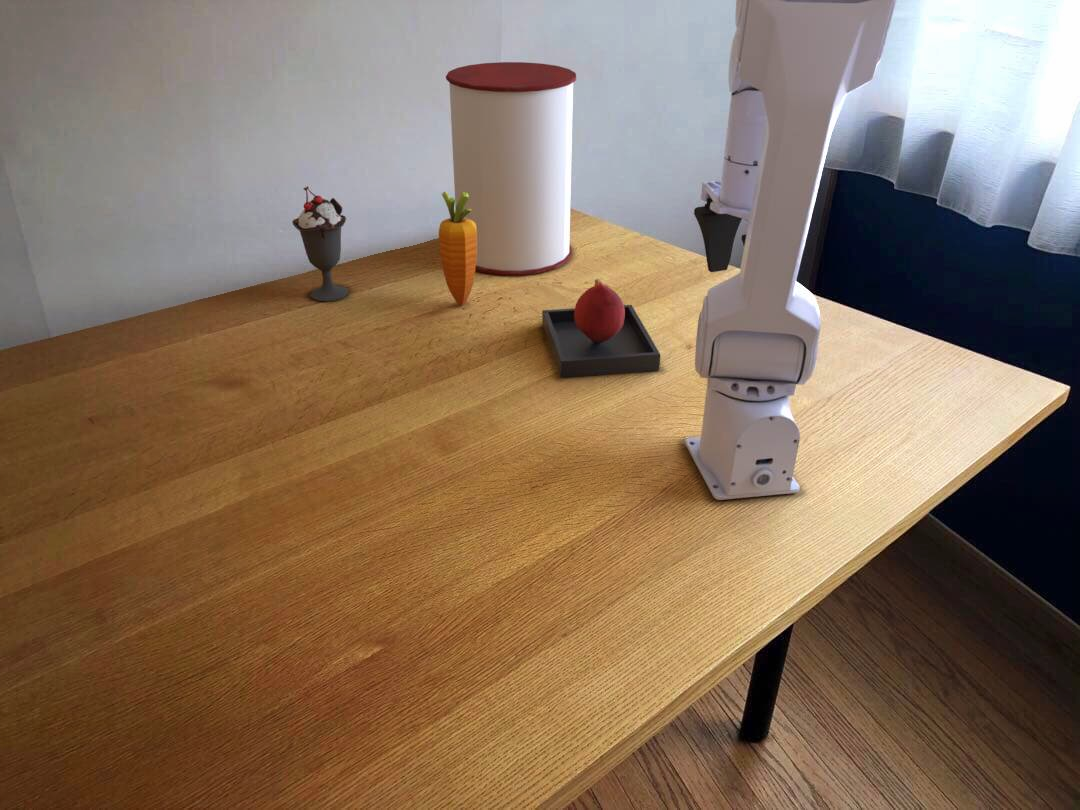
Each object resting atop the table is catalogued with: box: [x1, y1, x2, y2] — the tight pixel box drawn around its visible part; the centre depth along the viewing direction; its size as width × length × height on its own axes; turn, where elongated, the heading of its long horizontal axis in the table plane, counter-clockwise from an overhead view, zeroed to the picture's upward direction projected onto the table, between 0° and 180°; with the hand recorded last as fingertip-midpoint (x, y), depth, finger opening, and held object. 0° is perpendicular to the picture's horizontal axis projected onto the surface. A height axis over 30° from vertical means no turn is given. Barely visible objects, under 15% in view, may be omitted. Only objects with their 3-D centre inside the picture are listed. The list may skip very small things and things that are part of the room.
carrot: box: [438, 191, 477, 307], centre depth 107 cm, size 5×5×15 cm
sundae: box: [291, 185, 349, 303], centre depth 110 cm, size 7×7×15 cm
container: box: [445, 61, 577, 277], centre depth 120 cm, size 17×17×25 cm
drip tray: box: [541, 304, 661, 379], centre depth 101 cm, size 13×11×2 cm
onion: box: [574, 278, 625, 344], centre depth 99 cm, size 6×6×8 cm
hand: (736, 282), depth 94 cm, fingers open, 7 cm apart
